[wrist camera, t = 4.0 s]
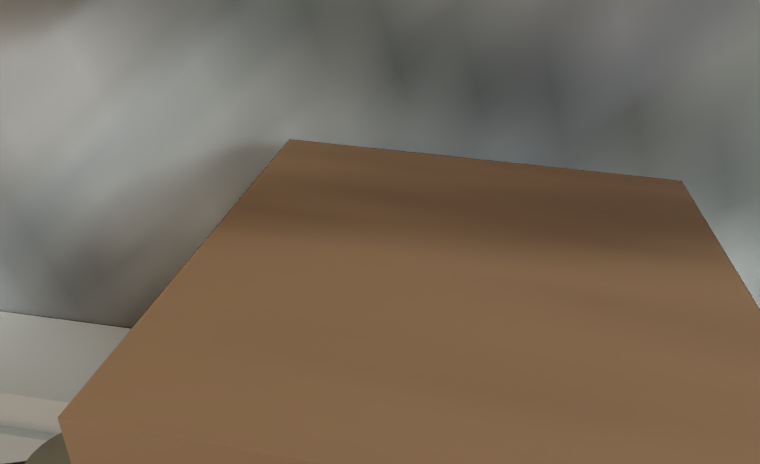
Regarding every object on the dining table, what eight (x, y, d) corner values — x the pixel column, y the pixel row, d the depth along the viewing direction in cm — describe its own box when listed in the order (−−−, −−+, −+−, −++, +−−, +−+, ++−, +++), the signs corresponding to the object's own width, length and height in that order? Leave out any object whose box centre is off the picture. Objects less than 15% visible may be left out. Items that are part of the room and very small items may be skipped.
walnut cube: (289, 138, 10) (57, 417, 5) (681, 180, 9) (916, 567, 4) (298, 410, 13) (162, 761, 8) (593, 458, 12) (662, 884, 7)
